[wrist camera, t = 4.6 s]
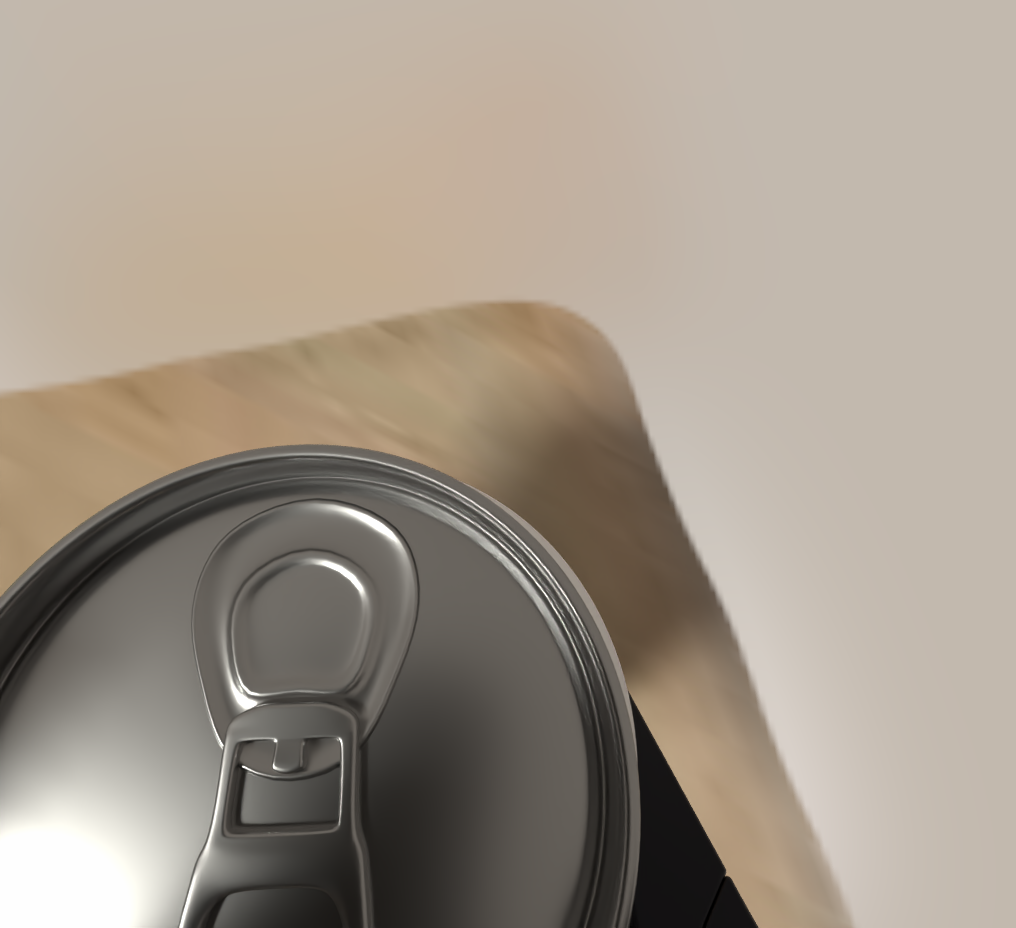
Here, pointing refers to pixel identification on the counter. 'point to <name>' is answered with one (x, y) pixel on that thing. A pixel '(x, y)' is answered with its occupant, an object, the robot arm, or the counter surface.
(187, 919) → the can
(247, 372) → the counter surface
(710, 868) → the robot arm
